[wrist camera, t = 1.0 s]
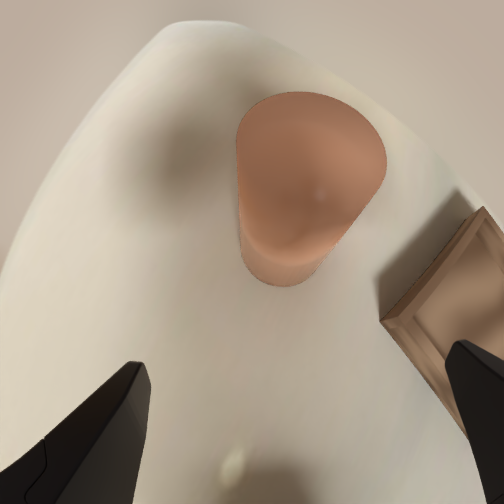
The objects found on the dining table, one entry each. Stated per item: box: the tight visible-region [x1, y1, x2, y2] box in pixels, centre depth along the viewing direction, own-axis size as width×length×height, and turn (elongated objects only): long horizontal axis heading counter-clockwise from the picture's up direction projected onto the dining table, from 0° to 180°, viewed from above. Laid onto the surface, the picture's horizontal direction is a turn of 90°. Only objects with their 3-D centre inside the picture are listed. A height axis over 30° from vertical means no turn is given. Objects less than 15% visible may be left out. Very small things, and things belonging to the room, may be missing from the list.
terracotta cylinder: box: [236, 92, 387, 287], centre depth 17 cm, size 6×6×12 cm
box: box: [380, 206, 504, 439], centre depth 19 cm, size 16×14×3 cm
